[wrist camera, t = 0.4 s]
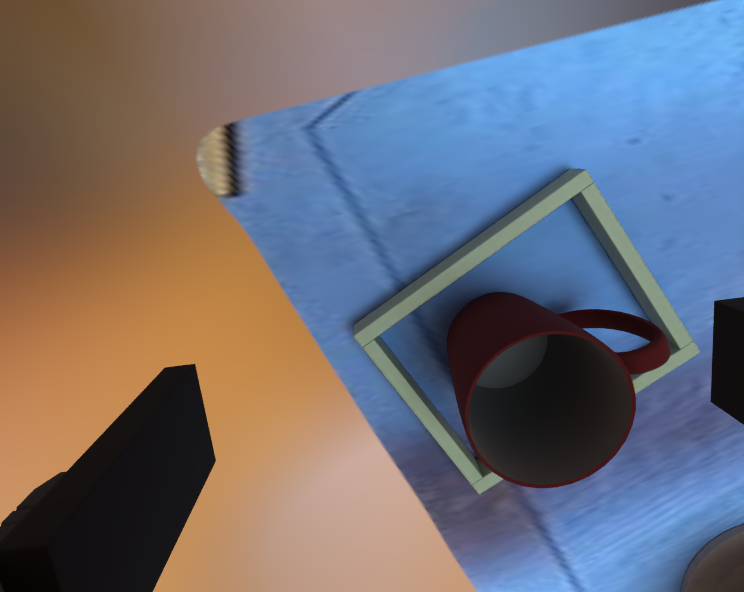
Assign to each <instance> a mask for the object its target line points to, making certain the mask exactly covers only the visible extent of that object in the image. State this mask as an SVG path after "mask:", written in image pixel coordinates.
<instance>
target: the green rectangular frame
mask: <svg viewBox="0 0 744 592" xmlns="http://www.w3.org/2000/svg"><path fill="white" fill-rule="evenodd" d="M571 198H572V199H573V201H574V202H575V204H576V205H577V207H578V209H579V210H580V212H581V213H582V215H583V216H584V218H585V219H586V221H587V223H588V224H589V226H590V227H591V229H592V230H593V232H594V233H595V235H596V237H597V238H598V240H599V241H600V243H601V244H602V246H603V248H604V249H605V251H606V252H607V254H608V255H609V257H610V258H611V260H612V262H613V263H614V265H615V266H616V268H617V269H618V271H619V272H620V274H621V276H622V277H623V279H624V280H625V282H626V283H627V285H628V287H629V288H630V290H631V291H632V293H633V294H634V296H635V297H636V299H637V301H638V302H639V304H640V305H641V307H642V308H643V310H644V312H645V313H646V315H647V316H648V318H649V319H650V321H651V322H652V323H653V324H655V325H656V326H658V327H659V328H660V329H661V330H662V331H663V332H664V334H665V336H666V338H667V340H668V343H669V346H670V350H671V355H670V358H669V360H668V361H667V362H666V363H665V364H664V365H662V366H661V367H659V368H657V369H655V370H652V371H649V372H646V373H643V374H637V375H631V378H632V381H633V385H634V389H635V394H636V393H638V392H639V391H641V390H642V389H644V388H645V387H647V386H649V385H650V384H652V383H653V382H655V381H656V380H658V379H659V378H661V377H662V376H664V375H666V374H667V373H669V372H670V371H672V370H673V369H675V368H676V367H678V366H680V365H681V364H683V363H684V362H686V361H687V360H689V359H690V358H692V357H694V356H695V355H697V354H698V353H700V351H699V349H698V348H697V346H696V344H695V343H694V341H693V340H692V338H691V336H690V335H689V333H688V332H687V330H686V328H685V327H684V325H683V324H682V322H681V320H680V319H679V317H678V316H677V314H676V312H675V311H674V309H673V308H672V306H671V304H670V303H669V301H668V300H667V298H666V296H665V295H664V293H663V292H662V290H661V288H660V287H659V285H658V284H657V282H656V280H655V279H654V277H653V276H652V274H651V272H650V271H649V269H648V268H647V266H646V264H645V263H644V261H643V260H642V258H641V256H640V255H639V253H638V252H637V250H636V248H635V247H634V245H633V244H632V242H631V240H630V239H629V237H628V236H627V234H626V232H625V231H624V229H623V228H622V226H621V224H620V223H619V221H618V220H617V218H616V216H615V215H614V213H613V212H612V210H611V208H610V207H609V205H608V204H607V202H606V200H605V199H604V197H603V196H602V194H601V192H600V191H599V189H598V188H597V186H596V184H595V183H593V180H592V178H591V176H590V175H589V173H588V172H587V170H586V169H569V170H568V171H567V172H565V173H564V174H562V175H561V176H560V177H558V178H557V179H555V180H554V181H553V182H551V183H550V184H549V185H547V186H546V187H544V188H543V189H542V190H540V191H539V192H537V193H536V194H535V195H533V196H532V197H531V198H529V199H528V200H526V201H525V202H524V203H522V204H521V205H519V206H518V207H517V208H515V209H514V210H513V211H511V212H510V213H508V214H507V215H506V216H504V217H503V218H501V219H500V220H499V221H497V222H496V223H495V224H493V225H492V226H490V227H489V228H488V229H486V230H485V231H483V232H482V233H481V234H479V235H478V236H477V237H475V238H474V239H472V240H471V241H470V242H468V243H467V244H465V245H464V246H463V247H461V248H460V249H459V250H457V251H456V252H454V253H453V254H452V255H450V256H449V257H447V258H446V259H445V260H443V261H442V262H441V263H439V264H438V265H436V266H435V267H434V268H432V269H431V270H429V271H428V272H427V273H425V274H424V275H423V276H421V277H420V278H418V279H417V280H416V281H414V282H413V283H411V284H410V285H409V286H407V287H406V288H405V289H403V290H402V291H400V292H399V293H398V294H396V295H395V296H393V297H392V298H391V299H389V300H388V301H386V302H385V303H384V304H382V305H381V306H380V307H378V308H377V309H375V310H374V311H373V312H371V313H370V314H368V315H367V316H366V317H364V318H363V319H362V320H360V321H359V322H357V323H356V324H355V325H354V332H353V337H354V338H355V339H356V341H357V342H358V343H359V344H360V346H361V347H362V348H363V349H364V351H365V352H366V353H367V354H368V356H369V357H370V358H371V359H372V361H373V362H374V363H375V364H376V366H377V367H378V368H379V370H380V371H381V372H382V373H383V375H384V376H385V377H386V378H387V380H388V381H389V382H390V383H391V385H392V386H393V387H394V388H395V390H396V391H397V392H398V393H399V395H400V396H401V397H402V398H403V400H404V401H405V402H406V403H407V405H408V406H409V407H410V408H411V410H412V411H413V412H414V413H415V415H416V416H417V417H418V418H419V420H420V421H421V422H422V423H423V425H424V426H425V427H426V428H427V430H428V431H429V432H430V433H431V435H432V436H433V437H434V438H435V440H436V441H437V442H438V443H439V445H440V446H441V447H442V449H443V450H444V451H445V452H446V454H447V455H448V456H449V457H450V459H451V460H452V461H453V462H454V464H455V465H456V466H457V467H458V469H459V470H460V471H461V472H462V474H463V475H464V476H465V477H466V479H467V480H468V481H469V482H470V484H472V486H473V487H474V489H475V490H476V491H477V492H478V494H481V493H482V492H484V491H486V490H487V489H489V488H490V487H492V486H493V485H495V484H496V483H498V482H500V481H501V480H503V478H501V477H499V476H498V475H496V474H495V473H493V472H492V471H491V470H489V469H488V468H487V467H486V466H485V465H484V464H483V463H482V462H481V461H480V459H479V458H477V459H475V457H474V456H473V455H472V453H471V452H470V451H469V450H468V448H467V447H466V446H465V445H464V443H463V442H462V441H461V439H460V438H459V437H458V436H457V434H456V433H455V432H454V430H453V429H452V428H451V427H450V425H449V424H448V423H447V422H446V420H445V419H444V418H443V416H442V415H441V414H440V413H439V411H438V410H437V409H436V408H435V406H434V405H433V404H432V402H431V401H430V400H429V399H428V397H427V396H426V395H425V394H424V392H423V391H422V390H421V388H420V387H419V386H418V385H417V383H416V382H415V381H414V379H413V378H412V377H411V376H410V374H409V373H408V372H407V371H406V369H405V368H404V367H403V365H402V364H401V363H400V362H399V360H398V359H397V358H396V357H395V355H394V354H393V353H392V351H391V350H390V349H389V348H388V346H387V345H386V344H385V342H384V341H383V340H382V339H381V337H380V336H379V335H380V334H382V333H383V332H384V331H386V330H387V329H389V328H390V327H391V326H393V325H394V324H396V323H397V322H398V321H400V320H401V319H403V318H404V317H405V316H407V315H408V314H410V313H411V312H412V311H414V310H415V309H417V308H418V307H419V306H421V305H422V304H424V303H425V302H426V301H428V300H429V299H431V298H432V297H433V296H435V295H436V294H438V293H439V292H440V291H442V290H443V289H445V288H446V287H447V286H449V285H450V284H452V283H453V282H454V281H456V280H457V279H459V278H460V277H461V276H463V275H464V274H466V273H467V272H468V271H470V270H471V269H473V268H474V267H475V266H477V265H478V264H480V263H481V262H482V261H484V260H485V259H487V258H488V257H489V256H491V255H492V254H494V253H495V252H497V251H498V250H499V249H501V248H502V247H504V246H505V245H506V244H508V243H509V242H511V241H512V240H513V239H515V238H516V237H518V236H519V235H520V234H522V233H523V232H525V231H526V230H527V229H529V228H530V227H532V226H533V225H534V224H536V223H537V222H539V221H540V220H541V219H543V218H544V217H546V216H547V215H548V214H550V213H551V212H553V211H554V210H555V209H557V208H558V207H560V206H561V205H562V204H564V203H565V202H567V201H568V200H569V199H571Z"/></svg>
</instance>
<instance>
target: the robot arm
mask: <svg viewBox="0 0 744 592" xmlns="http://www.w3.org/2000/svg"><path fill="white" fill-rule="evenodd" d="M711 402H712V403H713V404H715V405H716V406H718V407H719V408H721V409H722V410H723V411H725V412H726V413H728V414H729V415H731V416H732V417H734V418H735V419H736V420H738V421H739V422H741V423H742V424H744V297H742V298H734V299H726V300H717V301H714V327H713V354H712V382H711ZM215 461H216V459H215V455H214V450H213V445H212V441H211V436H210V431H209V427H208V422H207V418H206V413H205V408H204V404H203V399H202V394H201V390H200V386H199V380H198V376H197V371H196V367H195V364H191V365H182V366H174V367H166V368H164V369H163V370H162V371H161V372H160V373H159V375H158V376H157V377H156V378H155V379H154V380H153V381H152V382H151V383H150V384H149V385H148V386H147V387H146V388H145V389H144V391H142V393H141V394H140V395H139V396H138V397H137V398H136V399H135V400H134V401H133V402H132V403H131V404H130V405H129V406H128V407H127V408H126V410H125V411H124V412H123V413H122V414H121V415H120V416H119V417H118V418H117V419H116V420H115V421H114V422H113V423H112V424H111V425H110V426H109V427H108V428H107V430H106V431H105V432H104V433H103V434H102V435H101V436H100V437H99V438H98V439H97V440H96V441H95V442H94V443H93V445H91V447H90V448H89V449H88V450H87V451H86V452H85V453H84V454H83V455H82V456H81V457H80V458H79V459H78V460H77V461H76V462H75V463H74V465H73V466H72V467H71V468H70V469H69V470H68V471H67V472H61V473H59V474H57V475H56V476H54V477H53V478H51V479H50V480H48V481H47V482H45V483H43V484H42V485H40V486H39V487H37V488H36V489H34V490H33V491H32V492H31V493H30V494H29V495H28V496H27V498H25V500H24V501H23V502H22V503H21V504H20V505H19V506H18V507H17V510H16V511H13V512H12V513H11V514H10V515H9V516H8V517H7V518H6V519H5V520H4V521H3V522H2V523H1V527H0V592H153V590H154V588H155V586H156V583H157V581H158V579H159V577H160V575H161V573H162V571H163V569H164V567H165V565H166V563H167V561H168V559H169V557H170V554H171V552H172V550H173V548H174V546H175V544H176V542H177V540H178V538H179V536H180V534H181V532H182V530H183V528H184V526H185V523H186V521H187V519H188V517H189V515H190V513H191V511H192V509H193V507H194V505H195V503H196V501H197V499H198V496H199V495H200V492H201V490H202V488H203V486H204V484H205V482H206V480H207V478H208V476H209V474H210V472H211V470H212V468H213V466H214V464H215Z"/></svg>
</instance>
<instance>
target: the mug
mask: <svg viewBox="0 0 744 592" xmlns="http://www.w3.org/2000/svg"><path fill="white" fill-rule="evenodd" d="M583 328H607V329H615V330H620V331H625V332H629V333H632V334H635V335H638V336H640V337H643V338H645V339H647V340H649V341H651V342H650V343H649V344H647V345H646V346H644V347H641V348H639V349H636V350H633V351H628V352H619V353H617V352H614V351H613V350H611V349H610V348H609V347H608V346H606V345H605V344H604V343H603V342H601V341H600V340H598V339H597V338H596V337H594V336H593V335H591V334H589V333H588V332H586V331H585V330H583ZM447 354H448V360H449V365H450V370H451V375H452V380H453V385H454V390H455V395H456V399H457V403H458V408H459V412H460V415H461V419H462V422H463V425H464V429H465V432H466V434H467V437H468V440H469V442H470V444H471V447H472V449H473V450H474V452H475V454H476V455H477V457H478V458H479V459H480V461H481V462H482V463H483V464H484V465H485V466H486V467H487V468H488V469H489V470H491V471H492V472H493V473H495V474H496V475H498V476H499V477H501V478H503V479H505V480H507V481H509V482H512V483H515V484H518V485H521V486H526V487H533V488H553V487H559V486H564V485H568V484H572V483H575V482H577V481H579V480H582V479H584V478H586V477H589V476H590V475H592V474H593V473H595V472H596V471H598V470H599V469H601V468H602V467H603V466H605V465H606V464H607V463H608V462H609V461H610V460H611V459H612V458H613V457H614V456H615V455H616V454H617V452H618V451H619V449H620V448H621V447H622V445H623V444H624V442H625V441H626V439H627V436H628V434H629V432H630V430H631V427H632V425H633V420H634V415H635V410H636V397H635V389H634V385H633V381H632V378H631V375H637V374H643V373H646V372H649V371H652V370H655V369H657V368H659V367H661V366H662V365H664V364H665V363H666V362H667V361H668V360H669V358H670V355H671V350H670V346H669V343H668V340H667V338H666V336H665V334H664V332H663V331H662V330H661V329H660V328H659V327H658V326H656V325H655V324H653V323H651V322H649V321H647V320H645V319H643V318H640V317H637V316H634V315H631V314H627V313H623V312H618V311H611V310H599V309H588V310H576V311H570V312H566V313H562V314H555V313H553V312H551V311H549V310H548V309H546V308H544V307H542V306H540V305H538V304H536V303H534V302H532V301H530V300H528V299H526V298H524V297H522V296H519V295H516V294H512V293H505V292H498V293H491V294H487V295H483V296H481V297H478V298H476V299H474V300H473V301H471V302H470V303H468V304H467V305H466V306H465V307H463V308H462V309H461V310H460V312H459V313H458V314H457V315H456V317H455V318H454V320H453V322H452V324H451V326H450V328H449V332H448V336H447Z"/></svg>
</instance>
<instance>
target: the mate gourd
mask: <svg viewBox="0 0 744 592" xmlns="http://www.w3.org/2000/svg"><path fill="white" fill-rule="evenodd" d="M681 592H744V524H743V525H740V526H737V527H734V528H732V529H730V530H728V531H726V532H724V533H722V534H720V535H719V536H717V537H716V538H714V539H713V540H712V541H710V542H709V543H707V544H706V545H705V546H704V547H703V548H702V549H701V550H700V551H699V552H698V553H697V555H696V556H695V558H694V559H693V560H692V562H691V563H690V565H689V567H688V569H687V571H686V573H685V576H684V578H683V583H682V588H681Z"/></svg>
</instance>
